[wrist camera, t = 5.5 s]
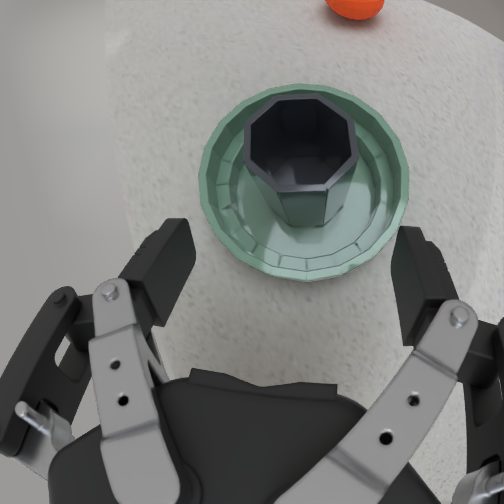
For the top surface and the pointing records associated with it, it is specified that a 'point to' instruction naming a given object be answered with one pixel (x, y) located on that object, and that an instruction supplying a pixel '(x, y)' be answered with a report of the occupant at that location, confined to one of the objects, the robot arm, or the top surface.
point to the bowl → (295, 237)
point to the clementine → (356, 8)
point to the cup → (301, 156)
